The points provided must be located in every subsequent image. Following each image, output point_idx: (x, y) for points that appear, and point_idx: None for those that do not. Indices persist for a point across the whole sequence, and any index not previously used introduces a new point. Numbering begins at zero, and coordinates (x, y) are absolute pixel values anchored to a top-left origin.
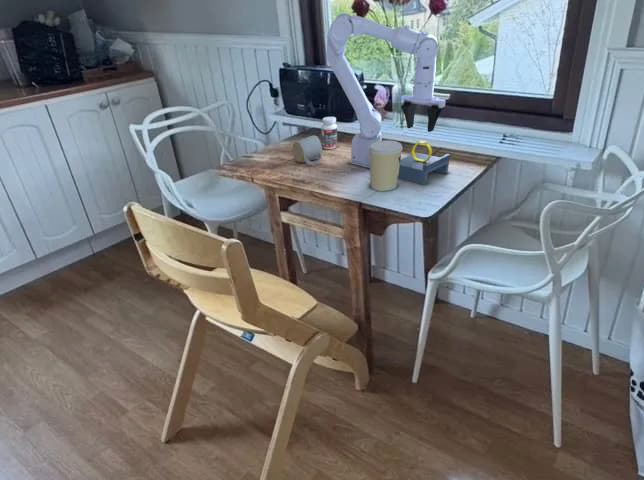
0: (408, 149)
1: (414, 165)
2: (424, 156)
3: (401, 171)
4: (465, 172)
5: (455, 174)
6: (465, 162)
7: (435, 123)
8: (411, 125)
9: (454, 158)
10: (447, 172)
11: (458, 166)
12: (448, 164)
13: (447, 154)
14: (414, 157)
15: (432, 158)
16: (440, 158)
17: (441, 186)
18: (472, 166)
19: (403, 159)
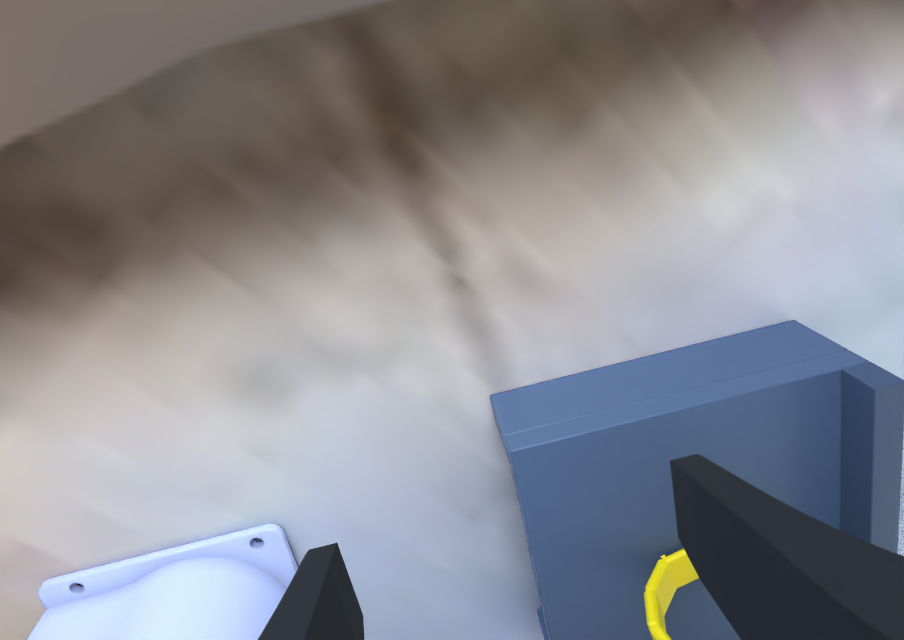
0: (84, 168)
1: (727, 630)
2: (649, 466)
3: None
4: (899, 216)
5: (860, 302)
6: (771, 27)
7: (769, 498)
8: (344, 591)
9: (624, 17)
10: (794, 323)
11: (781, 156)
12: (838, 348)
13: (887, 399)
14: (667, 602)
15: (737, 449)
16: (889, 502)
17: (900, 505)
18: (876, 63)
19: (567, 620)
